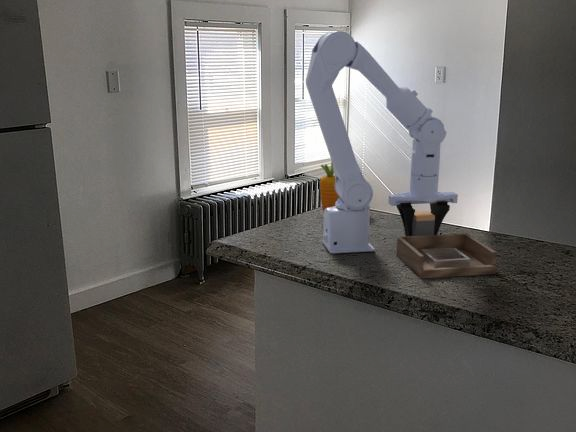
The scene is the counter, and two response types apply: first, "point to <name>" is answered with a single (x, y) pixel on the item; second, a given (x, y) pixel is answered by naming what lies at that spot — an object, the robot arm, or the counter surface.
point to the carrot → (328, 188)
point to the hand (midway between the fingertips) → (420, 236)
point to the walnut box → (464, 243)
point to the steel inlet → (458, 262)
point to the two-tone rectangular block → (423, 223)
